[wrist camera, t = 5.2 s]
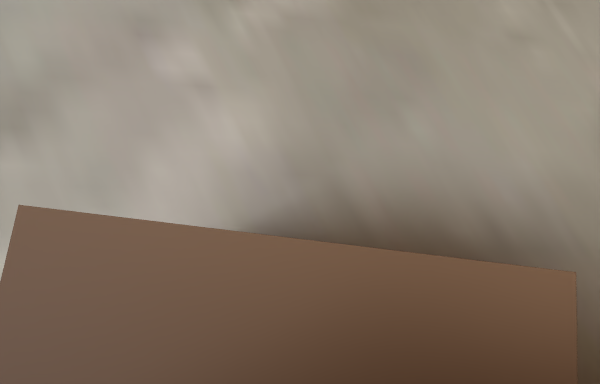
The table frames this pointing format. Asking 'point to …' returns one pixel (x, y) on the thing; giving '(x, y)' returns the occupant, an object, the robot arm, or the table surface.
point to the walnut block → (267, 310)
